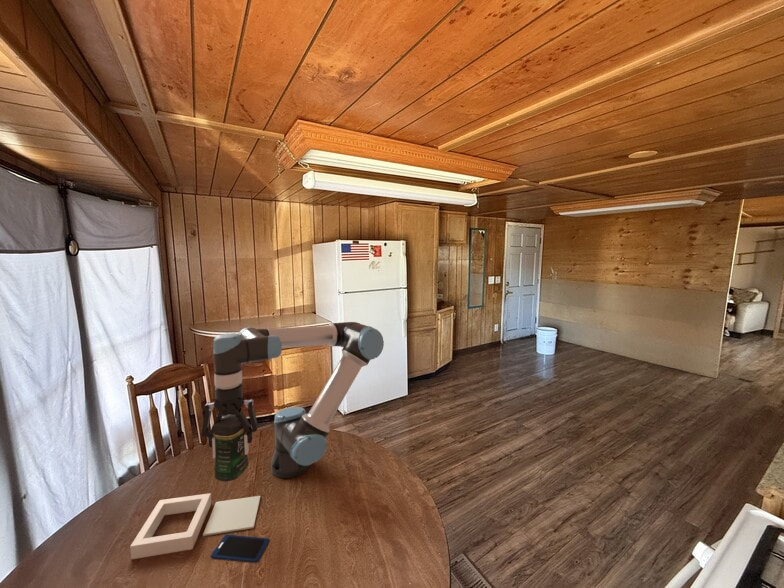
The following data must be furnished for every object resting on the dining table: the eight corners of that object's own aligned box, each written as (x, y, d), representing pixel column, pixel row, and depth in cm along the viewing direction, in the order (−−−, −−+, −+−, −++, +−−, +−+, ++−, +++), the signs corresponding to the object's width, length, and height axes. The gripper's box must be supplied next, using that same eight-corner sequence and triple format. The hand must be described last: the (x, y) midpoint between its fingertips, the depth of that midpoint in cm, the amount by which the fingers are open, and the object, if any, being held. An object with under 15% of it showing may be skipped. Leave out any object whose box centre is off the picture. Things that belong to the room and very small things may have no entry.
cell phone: (225, 536, 96) (225, 534, 96) (270, 540, 95) (270, 538, 95) (209, 559, 89) (209, 556, 89) (257, 564, 88) (257, 561, 88)
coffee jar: (234, 484, 96) (232, 426, 94) (210, 481, 97) (207, 423, 95) (252, 464, 106) (251, 410, 104) (230, 461, 107) (228, 408, 105)
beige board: (260, 497, 111) (260, 495, 111) (253, 528, 99) (253, 526, 99) (216, 503, 108) (216, 501, 108) (203, 536, 96) (203, 534, 95)
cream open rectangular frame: (211, 504, 108) (210, 493, 107) (192, 549, 91) (191, 536, 91) (160, 511, 104) (159, 500, 104) (131, 559, 88) (130, 546, 87)
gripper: (267, 377, 104) (268, 443, 107) (194, 382, 99) (198, 450, 102) (263, 386, 97) (265, 456, 100) (185, 392, 92) (189, 465, 95)
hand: (231, 453), depth 101 cm, fingers closed on coffee jar, 8 cm apart
